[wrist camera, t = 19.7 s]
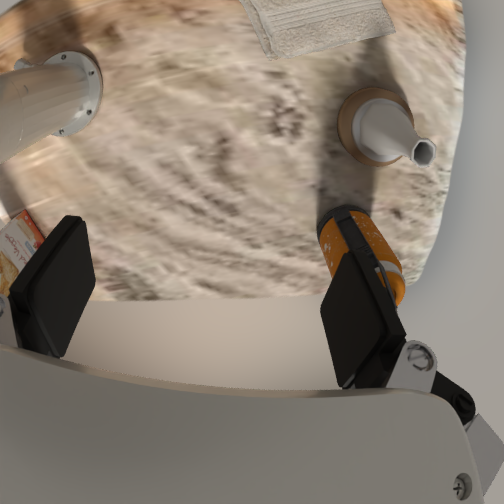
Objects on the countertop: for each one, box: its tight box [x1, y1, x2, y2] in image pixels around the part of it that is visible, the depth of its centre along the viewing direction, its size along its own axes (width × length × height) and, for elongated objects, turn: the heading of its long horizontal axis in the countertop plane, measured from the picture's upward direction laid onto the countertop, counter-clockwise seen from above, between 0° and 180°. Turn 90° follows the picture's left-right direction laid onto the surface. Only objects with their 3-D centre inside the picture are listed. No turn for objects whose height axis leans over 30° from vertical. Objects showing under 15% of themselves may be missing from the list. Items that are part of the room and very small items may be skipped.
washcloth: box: [239, 0, 396, 60], centre depth 25 cm, size 12×18×3 cm, turn 113°
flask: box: [360, 103, 436, 167], centre depth 29 cm, size 7×7×10 cm
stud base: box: [337, 87, 414, 167], centre depth 34 cm, size 11×11×4 cm
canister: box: [317, 205, 406, 315], centre depth 37 cm, size 9×11×20 cm
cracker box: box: [0, 210, 44, 297], centre depth 36 cm, size 14×6×21 cm, turn 20°
